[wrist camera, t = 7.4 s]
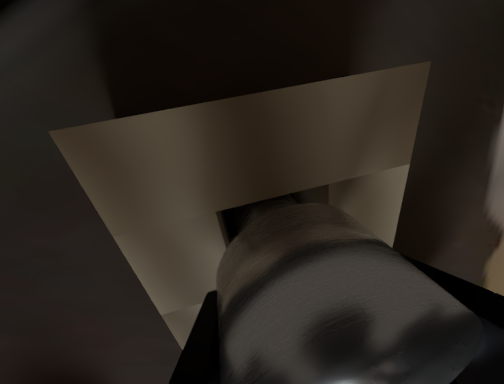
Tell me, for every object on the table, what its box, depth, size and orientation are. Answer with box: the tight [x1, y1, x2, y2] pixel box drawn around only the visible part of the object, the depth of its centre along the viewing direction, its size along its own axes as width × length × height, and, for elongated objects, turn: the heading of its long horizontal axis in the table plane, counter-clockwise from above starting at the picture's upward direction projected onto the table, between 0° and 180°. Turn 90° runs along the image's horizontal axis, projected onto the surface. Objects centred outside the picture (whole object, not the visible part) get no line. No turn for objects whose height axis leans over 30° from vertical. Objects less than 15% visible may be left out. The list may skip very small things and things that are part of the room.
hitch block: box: [49, 61, 431, 350], centre depth 12 cm, size 14×14×5 cm
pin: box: [216, 194, 483, 384], centre depth 9 cm, size 7×7×9 cm
